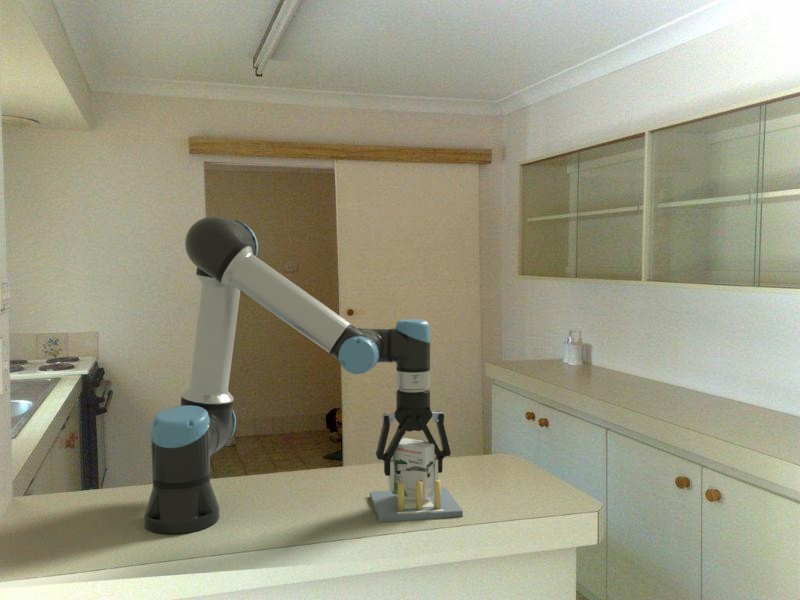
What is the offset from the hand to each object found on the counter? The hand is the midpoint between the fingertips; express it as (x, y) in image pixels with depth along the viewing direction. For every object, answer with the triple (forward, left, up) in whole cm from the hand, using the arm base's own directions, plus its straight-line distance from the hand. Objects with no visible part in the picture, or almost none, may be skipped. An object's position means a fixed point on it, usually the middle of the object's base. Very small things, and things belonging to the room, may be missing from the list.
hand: (413, 488), depth 161 cm
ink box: (0, 0, -2) cm, 2 cm away
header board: (0, -1, -4) cm, 4 cm away
